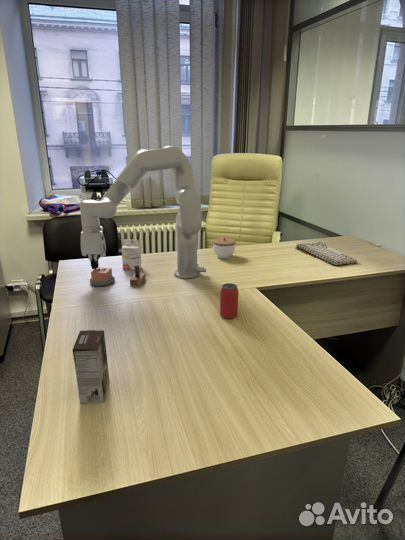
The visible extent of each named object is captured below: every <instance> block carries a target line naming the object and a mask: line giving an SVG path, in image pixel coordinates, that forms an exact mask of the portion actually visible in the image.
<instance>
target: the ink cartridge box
mask: <svg viewBox="0 0 405 540" xmlns="http://www.w3.org/2000/svg"><path fill="white" fill-rule="evenodd" d="M123 243H124V245H122V247H121V255H122V256H121V258H122V259H121V260H122V262H121V263H122V270H127V271H128V270H129V271H135V266H136V265H139V271H140V270H141V269H142V254H141V253H142V251H141V242H140V239H135V238H134V239H129V238H124V239H123Z"/></svg>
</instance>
